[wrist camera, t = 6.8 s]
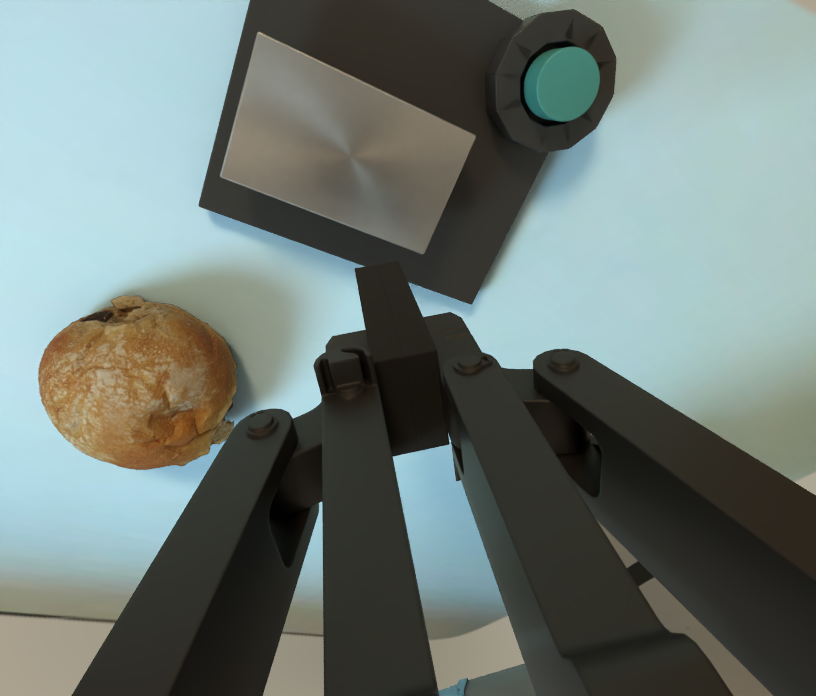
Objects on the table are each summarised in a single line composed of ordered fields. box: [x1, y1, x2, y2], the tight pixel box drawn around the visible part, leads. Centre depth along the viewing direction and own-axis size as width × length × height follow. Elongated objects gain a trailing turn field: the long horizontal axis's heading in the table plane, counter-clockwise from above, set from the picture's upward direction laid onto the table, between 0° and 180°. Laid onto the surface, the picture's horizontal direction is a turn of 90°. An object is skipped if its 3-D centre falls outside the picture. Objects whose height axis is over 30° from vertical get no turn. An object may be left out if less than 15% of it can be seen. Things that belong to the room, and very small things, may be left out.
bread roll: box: [38, 296, 237, 470], centre depth 29 cm, size 10×10×8 cm
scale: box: [199, 0, 616, 304], centre depth 25 cm, size 17×15×3 cm
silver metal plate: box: [220, 32, 476, 254], centre depth 23 cm, size 10×6×2 cm, turn 67°
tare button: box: [524, 47, 600, 122], centre depth 24 cm, size 3×3×2 cm
